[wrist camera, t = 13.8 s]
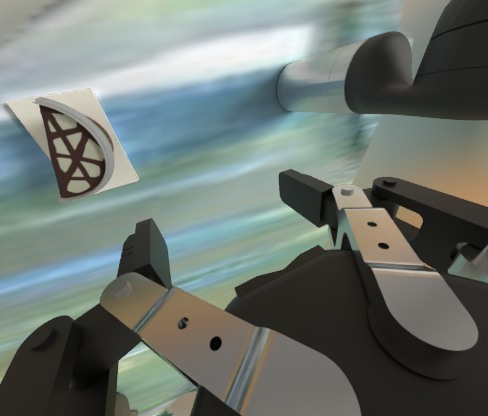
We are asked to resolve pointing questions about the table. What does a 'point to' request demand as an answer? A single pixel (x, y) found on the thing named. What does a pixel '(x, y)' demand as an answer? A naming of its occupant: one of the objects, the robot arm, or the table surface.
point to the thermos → (133, 412)
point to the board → (87, 106)
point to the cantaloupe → (121, 405)
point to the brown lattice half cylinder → (76, 150)
